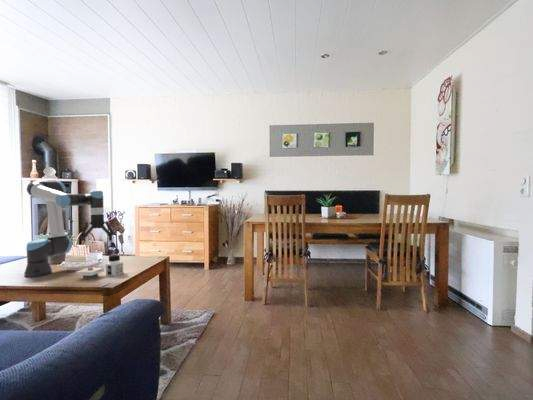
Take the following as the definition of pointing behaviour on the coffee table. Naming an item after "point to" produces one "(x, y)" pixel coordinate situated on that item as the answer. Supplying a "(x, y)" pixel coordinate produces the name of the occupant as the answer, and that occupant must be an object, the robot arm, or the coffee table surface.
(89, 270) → the lid
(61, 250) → the robot arm
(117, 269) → the container
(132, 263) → the coffee table surface
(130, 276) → the coffee table surface
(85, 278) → the stand
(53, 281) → the coffee table surface
